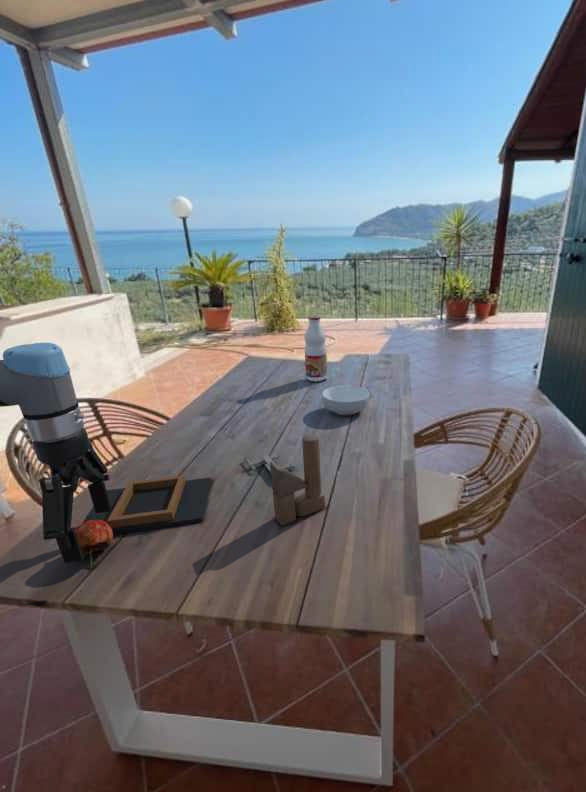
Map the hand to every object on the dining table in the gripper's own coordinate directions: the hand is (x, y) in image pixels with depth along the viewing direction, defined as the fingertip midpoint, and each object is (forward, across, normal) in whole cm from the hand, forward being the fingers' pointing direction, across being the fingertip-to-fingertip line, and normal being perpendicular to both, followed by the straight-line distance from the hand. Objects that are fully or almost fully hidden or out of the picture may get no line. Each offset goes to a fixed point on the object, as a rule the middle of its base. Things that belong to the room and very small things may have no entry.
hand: (90, 533), depth 74 cm
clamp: (+5, +23, -34) cm, 41 cm away
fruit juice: (+6, +93, -55) cm, 108 cm away
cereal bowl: (+6, +56, -61) cm, 83 cm away
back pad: (+5, +13, -7) cm, 15 cm away
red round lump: (+5, 0, 0) cm, 5 cm away
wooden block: (+5, +3, -40) cm, 40 cm away
